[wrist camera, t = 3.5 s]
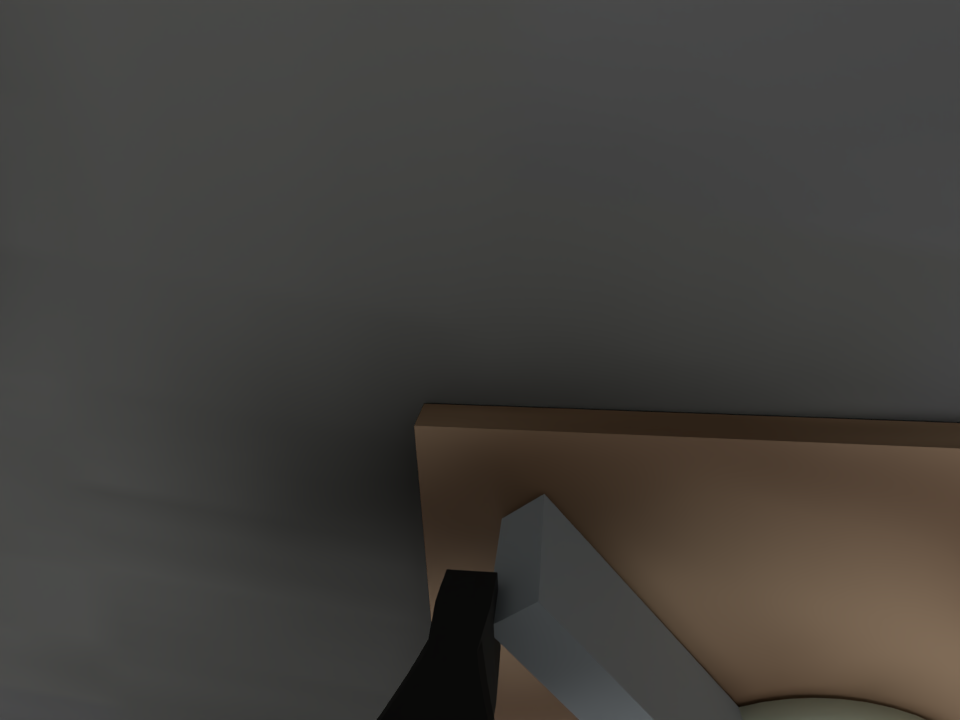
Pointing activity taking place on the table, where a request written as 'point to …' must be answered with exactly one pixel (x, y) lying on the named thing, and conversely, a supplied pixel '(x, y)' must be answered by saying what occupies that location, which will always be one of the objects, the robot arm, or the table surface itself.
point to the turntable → (613, 636)
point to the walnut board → (728, 539)
